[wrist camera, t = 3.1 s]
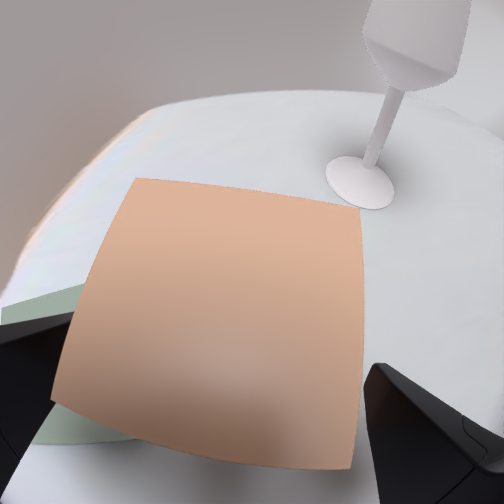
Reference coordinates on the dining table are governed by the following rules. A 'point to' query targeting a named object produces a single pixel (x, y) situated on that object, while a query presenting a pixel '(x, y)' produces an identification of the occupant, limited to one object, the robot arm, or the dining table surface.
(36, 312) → the base plate
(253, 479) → the dining table surface
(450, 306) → the dining table surface
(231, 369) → the peach rectangular block
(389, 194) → the champagne flute
